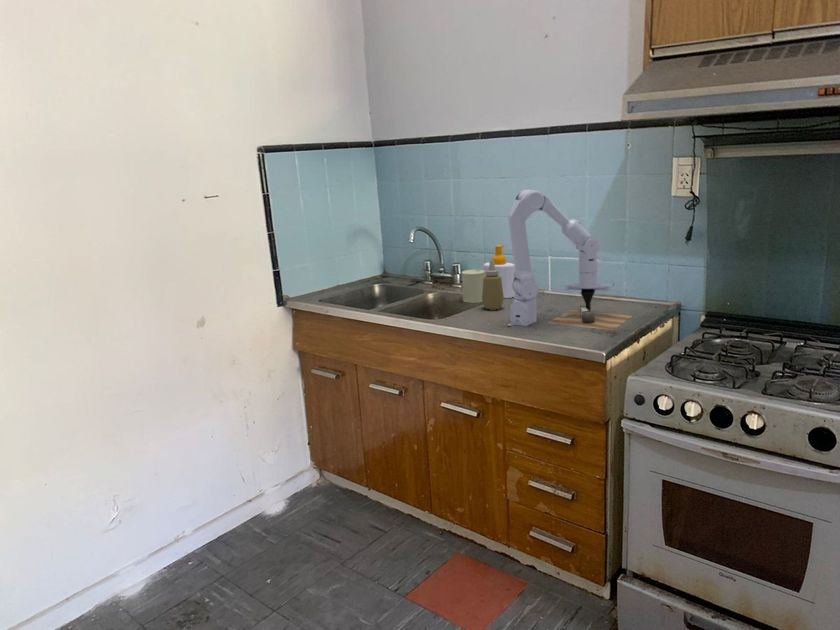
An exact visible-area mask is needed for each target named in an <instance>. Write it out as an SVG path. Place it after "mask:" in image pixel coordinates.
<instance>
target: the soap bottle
mask: <svg viewBox="0 0 840 630" xmlns="http://www.w3.org/2000/svg"><path fill="white" fill-rule="evenodd" d="M504 246H505V245H504V244H499V245H495V246H494V248H495V249H494V250H495V252H494V253H495V254H494V256H492V258H491V261H492V260H493V261H494V265H495V269H496V270H498V276H500V277H501V280H502V288H503V296H504V299H513V298H514V296H515V293H516V292H514V290H513V288H512V283H513V279H514V276H513V274H514V271H515V265H514V263H511V262H507V258H506V256H505V255H503V248H504ZM489 264H490V262H486V263H484V264H483V270H484V271H485V276H487V275H486V270H489ZM512 297H513V298H512Z"/></svg>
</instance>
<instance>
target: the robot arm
mask: <svg viewBox="0 0 840 630" xmlns="http://www.w3.org/2000/svg"><path fill="white" fill-rule="evenodd" d="M538 211H539V212H544V213H545V214H546V215H548V217H550V218H551V219H552V220H553V221H555V222H556V223H557V224H558V225H559V226H560V227H561V233H562V234H563V235H564V236H565V237H566V238H568V239H569V241H570V242H571V243H572V244H573V245H575V248H576V249H577V250H578V282H574V283H572V282H569V283H566V284H565V290H566V291H570V290H571V291H572V290H573V291H574V290H575V291H581V292H580V295H581V296H582V298H583V300H584V303H585V307H586V308H587V309H588V310H589V311H592V310H591V309H592V306H591V303H592V299H593V297H594V295H595V292H596V291H604V292H610V291H611V288H612V287H611V286H612V284H609V283H598V280H597V279H598V277H597V272H598V270H597V269H598V268H597V267H598V266H597V265H598V263H597V262H598V260H597V259H598V257H597V253H598V251H599V250H600V248H601V244H600V243H599V240H598V238H597V237H596V236H592V235H591V232H590V231H589V230H587V229H585V228H584V227H583V226H582V225H581V224H582V222H581V221H579V220H578V219H577V220H576V219H569V218H568V217H567V216H566V215H565V213H563V212H562V210H561V209H559V208H558V207H557V206H556V204H555V203H554V202H553V201H552V200H551V199H549V197H547V196H546V195H544V194H543V193H542V192H541V191H540V190H536V189H534V190H533V189H528V188H525V189H521V190H520V191H519V192H518V193H517V194H516V195H515V196H514V198H513V203H512V206H511V209H510V210H509V213H508V218H507V219H508V226H509V235H510V241H511V249H512V255H513V264H514V265H515V271H514V274H513V276H514V279H513V283H512V288H513V290H514V292H515V296H514V297H513V298H514V300H513V302H512V303H511V305H510V307H509V323H508V324H507V326H508V327H514V326H525V327H527V326H529V325H531V324H535V323H537V321H538V320H537V296H538V293H539V291H540V290H539V285H538V283H537V282H536V279H535V275H534V273H533V270H532V266H531V259H530V251H529V249H530V248H529V241H528V234H527V228H526V227H527V226H526V221H527V219H528V220H529V217H530V216H531V215H532V214H534V213H535V212H538Z"/></svg>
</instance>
